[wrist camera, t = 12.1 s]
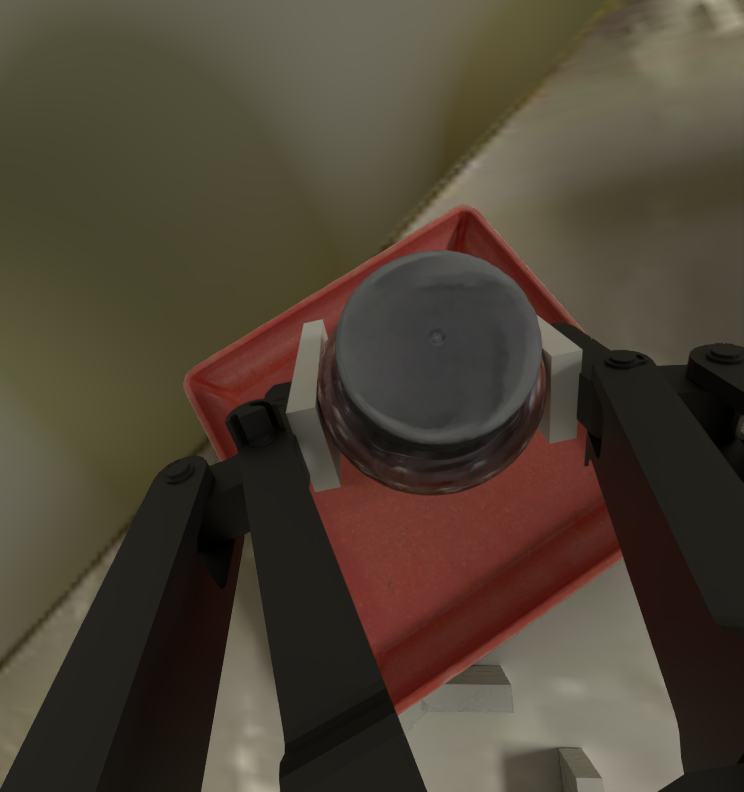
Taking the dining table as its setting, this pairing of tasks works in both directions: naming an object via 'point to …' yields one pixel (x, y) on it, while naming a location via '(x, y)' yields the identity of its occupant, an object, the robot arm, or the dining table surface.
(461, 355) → the supplement bottle
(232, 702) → the dining table surface
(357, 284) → the plant saucer
